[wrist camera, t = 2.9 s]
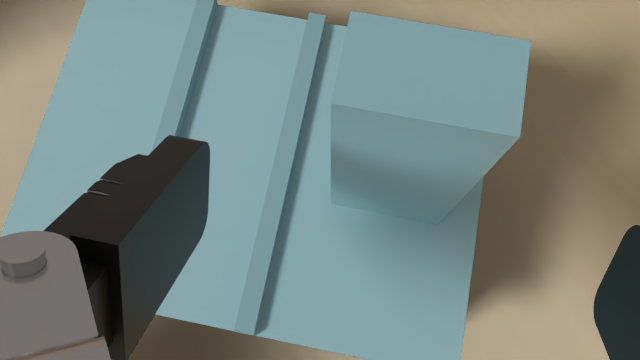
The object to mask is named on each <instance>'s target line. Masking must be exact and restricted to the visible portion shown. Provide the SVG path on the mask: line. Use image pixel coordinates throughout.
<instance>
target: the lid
mask: <svg viewBox="0 0 640 360" xmlns="http://www.w3.org/2000/svg"><path fill="white" fill-rule="evenodd" d="M530 45H531V41H529V40H523V39H517V38H511V37H505V36H499V35H493V34H487V33H481V32H475V31H469V30H463V29H457V28H451V27H445V26H439V25H433V24H427V23H421V22H415V21H409V20H403V19H397V18H391V17H385V16H379V15H373V14H367V13H361V12H355V11H350V16H349V20H348V25H347V26H341V25H335V24H329V23H326V15H322V14H316V13H310V12H309V15H308V19H307V20H305V19H300V18H294V17H288V16H282V15H276V14H270V13H264V12H258V11H252V10H246V9H240V8H234V7H229V6H223V5H218V3H217V0H197V1H193V0H86V2H85V5H84V8H83V11H82V13H81V16H80V19H79V22H78V24H77V27H76V30H75V33H74V36H73V38H72V41H71V44H70V47H69V49H68V52H67V55H66V58H65V60H64V63H63V66H62V69H61V71H60V74H59V77H58V80H57V82H56V85H55V88H54V91H53V93H52V96H51V99H50V102H49V104H48V107H47V110H46V113H45V115H44V118H43V121H42V124H41V126H40V129H39V132H38V135H37V137H36V140H35V143H34V146H33V148H32V151H31V154H30V157H29V160H28V162H27V165H26V168H25V171H24V173H23V176H22V179H21V182H20V184H19V187H18V190H17V193H16V195H15V198H14V201H13V204H12V206H11V209H10V212H9V215H8V217H7V220H6V223H5V226H4V228H3V231H2V234H1V237H2V236H6V235H9V234H13V233H18V232H25V231H44V230H45V229H46V228H47V227H48V226H49V225H50V224H51V223H52V222H53V221H54V220H55V219H56V218H58V217H59V216H60V215H61V214H62V213H63V212H64V211H65V210H66V209H67V208H68V207H69V206H70V205H71V204H73V203H74V202H75V201H76V200H77V199H78V198H79V197H80V196H81V195H82V194H83V193H87V190H88V189H89V188H90V187H91V186H92V185H93V184H94V183H95V182H96V181H100V177H102V176H103V175H104V174H105V173H106V172H107V171H108V170H109V169H110V168H111V167H112V166H113V165H114V164H116V163H118V162H121V161H123V160H125V159H128V158H130V157H132V156H135V155H137V154H141V155H146V156H148V155H149V154H150V153H151V152H152V151H153V150H154V149H155V148H156V147H157V146H158V145H159V144H160V143H161V142H162V141H163V140H164V139H165V138H166V137H167V136H169V135H173V136H179V137H184V138H189V139H194V140H200V141H205V142H207V143H208V144H209V147H210V174H209V202H208V216H207V222H206V226H205V229H204V232H203V235H202V237H201V240H200V241H199V243H198V245H197V246H196V248H195V250H194V251H193V253H192V255H191V256H190V258H189V259H188V261H187V263H186V264H185V266H184V268H183V269H182V271H181V273H180V274H179V276H178V277H177V279H176V281H175V282H174V284H173V286H172V287H171V289H170V291H169V292H168V294H167V296H166V297H165V299H164V300H163V302H162V304H161V305H160V307H159V309H158V310H157V312H156V314H155V315H160V316H165V317H170V318H174V319H179V320H184V321H188V322H193V323H198V324H203V325H207V326H212V327H217V328H221V329H226V330H231V331H234V332H238V333H243V334H248V335H253V336H259V337H264V338H269V339H273V340H278V341H283V342H287V343H292V344H297V345H302V346H306V347H311V348H316V349H320V350H325V351H330V352H335V353H339V354H344V355H349V356H353V357H358V358H363V359H368V360H461V352H462V345H463V337H464V329H465V321H466V313H467V305H468V297H469V289H470V281H471V274H472V266H473V258H474V250H475V242H476V234H477V226H478V218H479V211H480V203H481V195H482V187H483V179H484V175H485V174H486V173H487V172H488V171H489V170H490V169H491V168H492V167H493V166H494V165H495V164H496V163H497V161H498V160H499V159H500V158H501V157H502V156H503V155H504V154H505V153H506V152H507V151H508V150H509V149H510V148H511V147H512V146H513V145H514V144H515V142H516V141H517V140H518V139H519V138H520V135H521V126H522V117H523V108H524V99H525V90H526V81H527V72H528V63H529V54H530Z"/></svg>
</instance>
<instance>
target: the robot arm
mask: <svg viewBox="0 0 640 360" xmlns="http://www.w3.org/2000/svg"><path fill="white" fill-rule="evenodd" d="M209 174H210V147H209V144H208V143H207V142H205V141H200V140H194V139H189V138H184V137H179V136H173V135H169V136H167V137H166V138H165V139H164V140H163V141H162V142H161V143H160V144H159V145H158V146H157V147H156V148H155V149H154V150H153V151H152V152H151V153H150V154H149V155H148V156H146V155H141V154H137V155H135V156H132V157H130V158H128V159H125V160H123V161H121V162H118V163H116V164H114V165H113V166H112V167H111V168H110V169H109V170H108V171H107V172H106V173H105V174H104V175H103V176H102V177H100V181H96V182H95V183H94V184H93V185H92V186H91V187H90V188H89V189H88V190H87V193H83V194H82V195H81V196H80V197H79V198H78V199H77V200H76V201H75V202H74V203H73V204H71V205H70V206H69V207H68V208H67V209H66V210H65V211H64V212H63V213H62V214H61V215H60V216H59V217H58V218H56V219H55V220H54V221H53V222H52V223H51V224H50V225H49V226H48V227H47V228H46V229H45V230H44V231H25V232H18V233H13V234H9V235H6V236H2V237H0V360H111V359H114V360H127V359H128V358H129V356H130V355H131V353H132V351H133V350H134V348H135V346H136V345H137V343H138V341H139V340H140V338H141V337H142V335H143V333H144V332H145V330H146V328H147V327H148V325H149V323H150V322H151V320H152V318H153V317H154V315H155V314H156V312H157V310H158V309H159V307H160V305H161V304H162V302H163V300H164V299H165V297H166V296H167V294H168V292H169V291H170V289H171V287H172V286H173V284H174V282H175V281H176V279H177V277H178V276H179V274H180V273H181V271H182V269H183V268H184V266H185V264H186V263H187V261H188V259H189V258H190V256H191V255H192V253H193V251H194V250H195V248H196V246H197V245H198V243H199V241H200V240H201V237H202V235H203V232H204V229H205V226H206V222H207V216H208V202H209ZM594 319H595V323H596V326H597V328H598V331H599V333H600V336H601V338H602V341H603V343H604V346H605V348H606V351H607V353H608V356H609V359H610V360H640V226H639V225H635V226H632V227H631V228H630V229H629V230H628V231H627V232H626V233H625V235H624V237H623V239H622V241H621V243H620V245H619V247H618V249H617V251H616V253H615V255H614V257H613V259H612V261H611V263H610V265H609V267H608V269H607V271H606V273H605V275H604V278H603V280H602V282H601V284H600V286H599V288H598V290H597V293H596V296H595V301H594Z"/></svg>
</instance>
